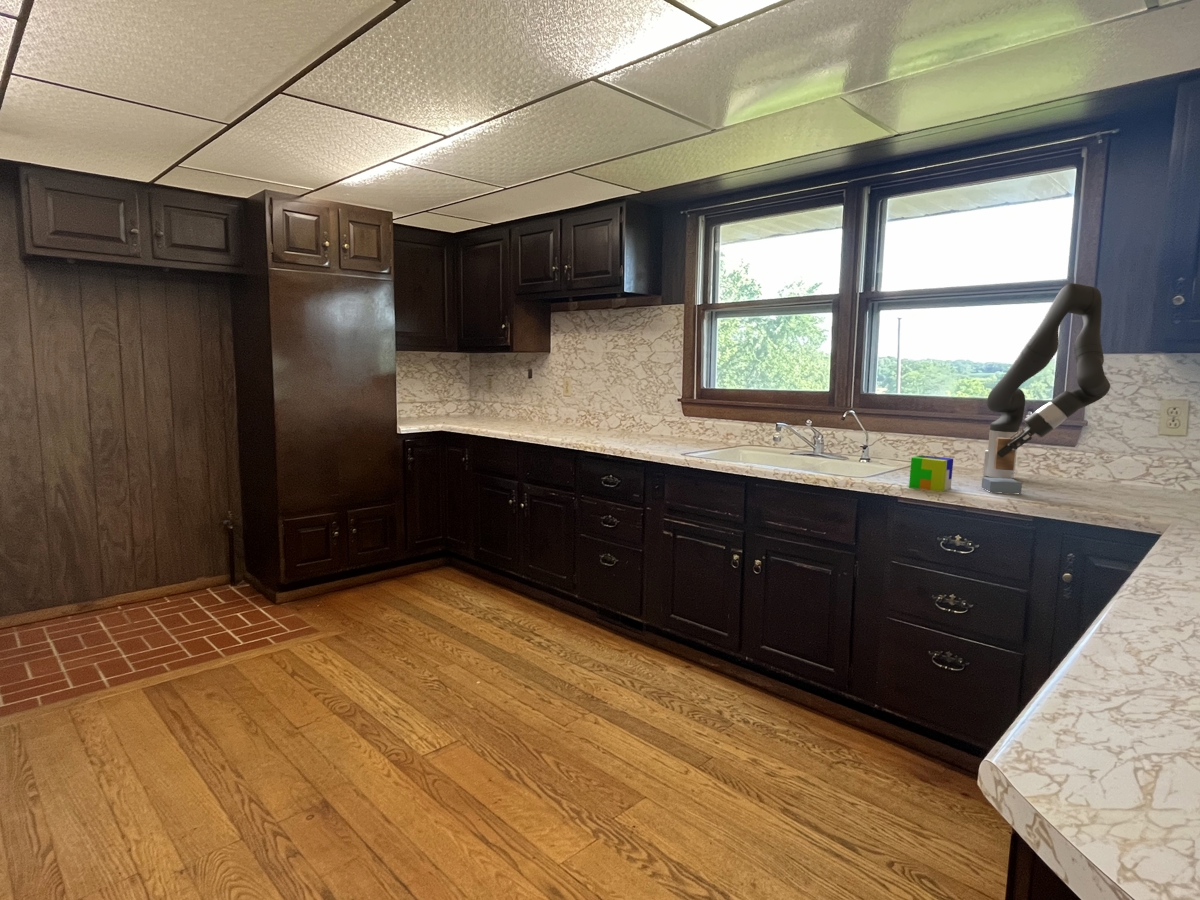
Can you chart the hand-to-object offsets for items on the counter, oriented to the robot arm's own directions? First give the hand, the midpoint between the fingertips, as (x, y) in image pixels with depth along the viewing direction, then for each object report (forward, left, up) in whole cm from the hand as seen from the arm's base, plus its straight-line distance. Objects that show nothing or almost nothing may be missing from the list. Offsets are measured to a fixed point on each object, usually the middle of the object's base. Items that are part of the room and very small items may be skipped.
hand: (998, 454), depth 220 cm
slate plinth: (+1, +1, -12) cm, 13 cm away
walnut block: (+2, +1, -5) cm, 5 cm away
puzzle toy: (-14, -15, -12) cm, 24 cm away
